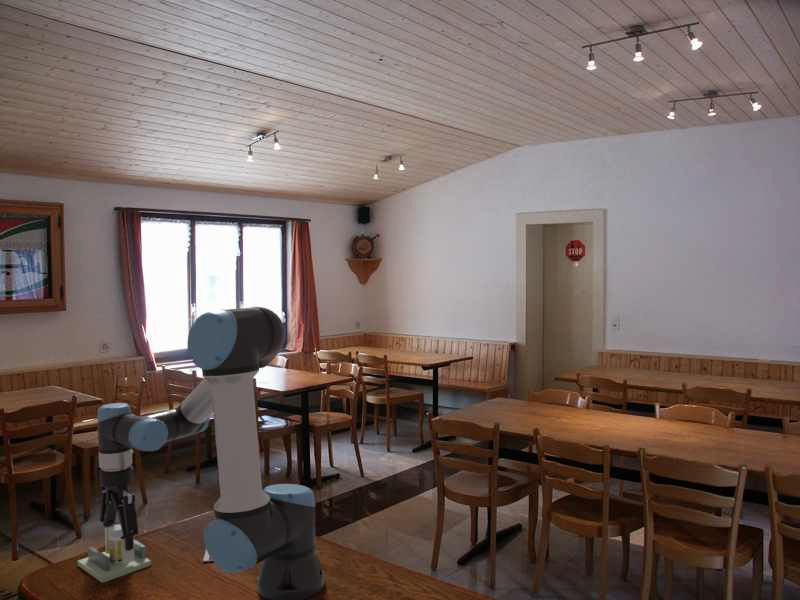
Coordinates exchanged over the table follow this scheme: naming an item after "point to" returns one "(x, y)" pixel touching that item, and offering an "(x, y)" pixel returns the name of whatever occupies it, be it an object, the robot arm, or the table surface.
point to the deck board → (113, 568)
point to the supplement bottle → (115, 544)
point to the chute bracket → (104, 561)
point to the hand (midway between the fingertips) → (119, 556)
